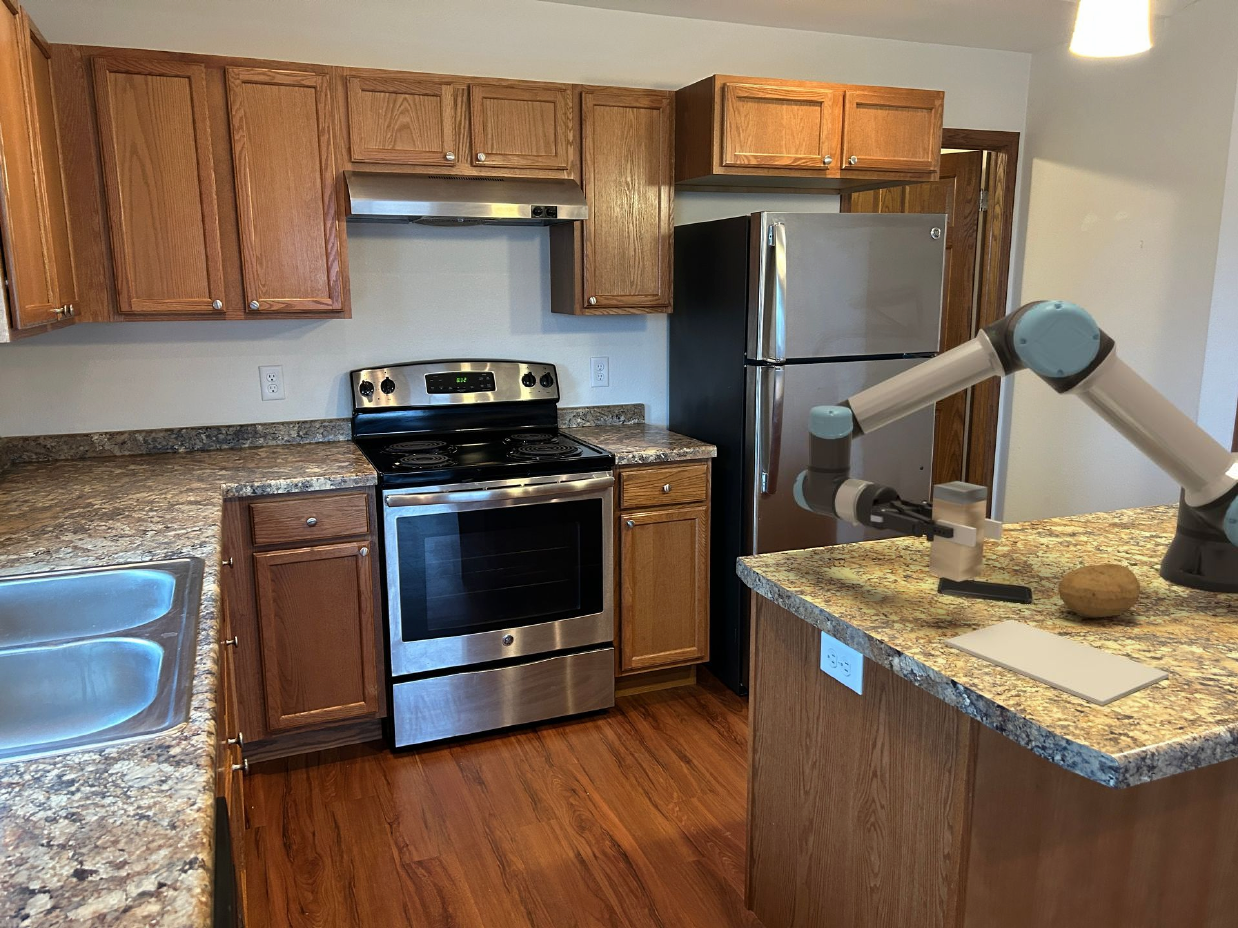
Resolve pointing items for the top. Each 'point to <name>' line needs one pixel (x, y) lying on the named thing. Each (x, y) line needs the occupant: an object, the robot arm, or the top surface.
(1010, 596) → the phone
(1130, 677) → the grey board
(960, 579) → the maple block
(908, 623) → the top surface
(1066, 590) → the potato
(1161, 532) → the top surface
